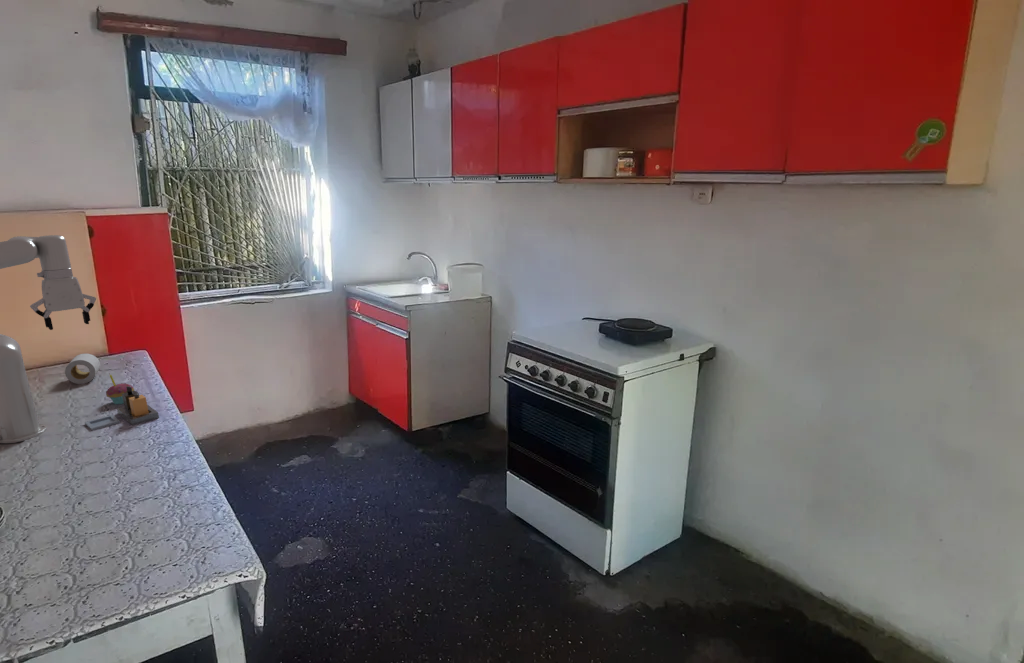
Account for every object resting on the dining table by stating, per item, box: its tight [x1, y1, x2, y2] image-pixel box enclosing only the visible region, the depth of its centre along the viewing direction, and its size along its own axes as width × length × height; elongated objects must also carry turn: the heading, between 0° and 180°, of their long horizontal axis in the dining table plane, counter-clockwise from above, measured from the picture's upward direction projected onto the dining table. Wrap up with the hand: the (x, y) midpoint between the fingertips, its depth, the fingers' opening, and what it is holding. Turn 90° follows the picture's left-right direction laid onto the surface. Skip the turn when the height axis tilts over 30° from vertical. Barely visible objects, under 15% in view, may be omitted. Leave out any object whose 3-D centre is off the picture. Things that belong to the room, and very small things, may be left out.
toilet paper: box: [64, 353, 101, 385], centre depth 239 cm, size 10×10×10 cm
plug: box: [129, 394, 149, 417], centre depth 198 cm, size 4×4×9 cm
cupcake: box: [105, 373, 135, 405], centre depth 213 cm, size 9×8×12 cm
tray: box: [84, 414, 121, 431], centre depth 195 cm, size 8×8×1 cm
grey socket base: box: [116, 385, 160, 426], centre depth 200 cm, size 16×8×10 cm, turn 48°
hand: (69, 326), depth 191 cm, fingers open, 9 cm apart
